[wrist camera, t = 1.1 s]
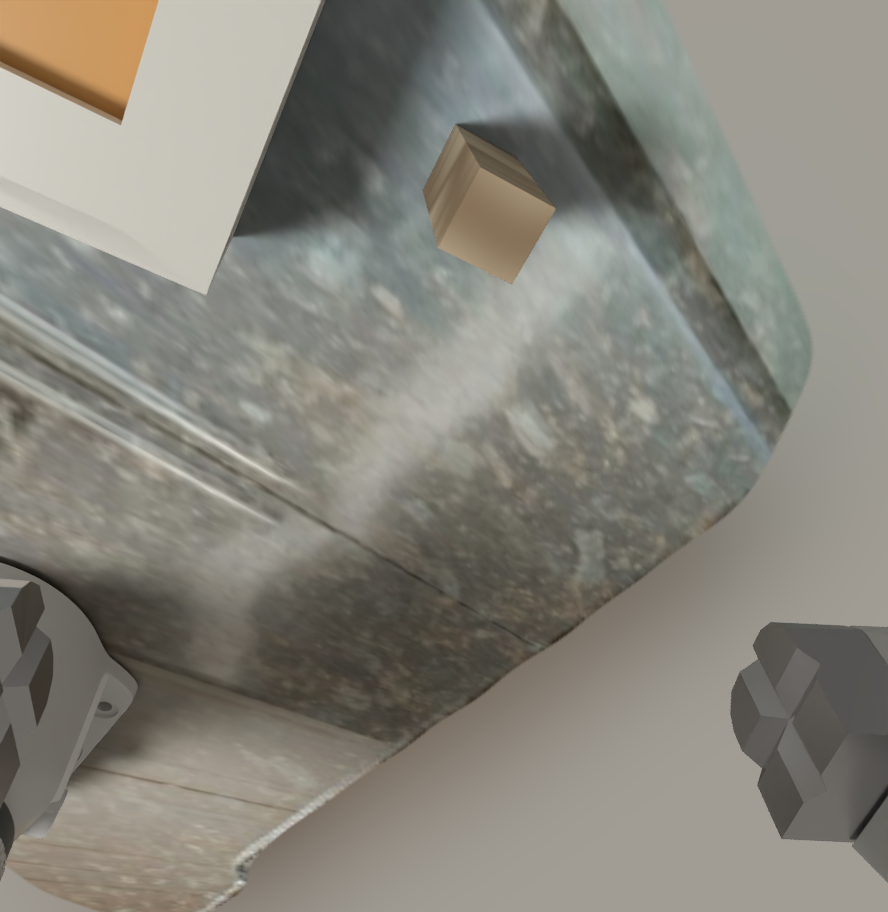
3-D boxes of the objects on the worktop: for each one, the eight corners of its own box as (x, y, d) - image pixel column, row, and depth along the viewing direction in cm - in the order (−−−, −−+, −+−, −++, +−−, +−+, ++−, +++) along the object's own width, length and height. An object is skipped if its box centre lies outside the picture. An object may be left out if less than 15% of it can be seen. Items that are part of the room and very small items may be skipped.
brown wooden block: (482, 221, 35) (511, 284, 28) (422, 190, 34) (437, 247, 27) (517, 158, 34) (556, 208, 27) (455, 123, 33) (480, 167, 26)
